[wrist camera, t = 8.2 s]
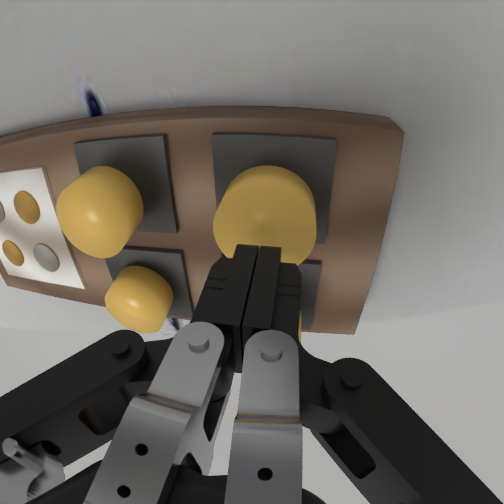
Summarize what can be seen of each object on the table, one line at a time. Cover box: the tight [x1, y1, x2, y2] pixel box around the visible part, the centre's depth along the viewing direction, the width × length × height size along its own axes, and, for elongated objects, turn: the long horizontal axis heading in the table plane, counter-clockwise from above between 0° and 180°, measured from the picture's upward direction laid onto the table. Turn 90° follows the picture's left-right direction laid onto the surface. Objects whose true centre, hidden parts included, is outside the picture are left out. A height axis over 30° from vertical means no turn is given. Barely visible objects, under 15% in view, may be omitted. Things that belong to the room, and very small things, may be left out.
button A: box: [56, 166, 144, 258], centre depth 14 cm, size 4×4×2 cm
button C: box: [213, 165, 316, 266], centre depth 13 cm, size 4×4×2 cm
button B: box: [105, 266, 174, 333], centre depth 19 cm, size 4×4×2 cm
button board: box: [0, 106, 404, 335], centre depth 20 cm, size 14×32×4 cm, turn 91°
